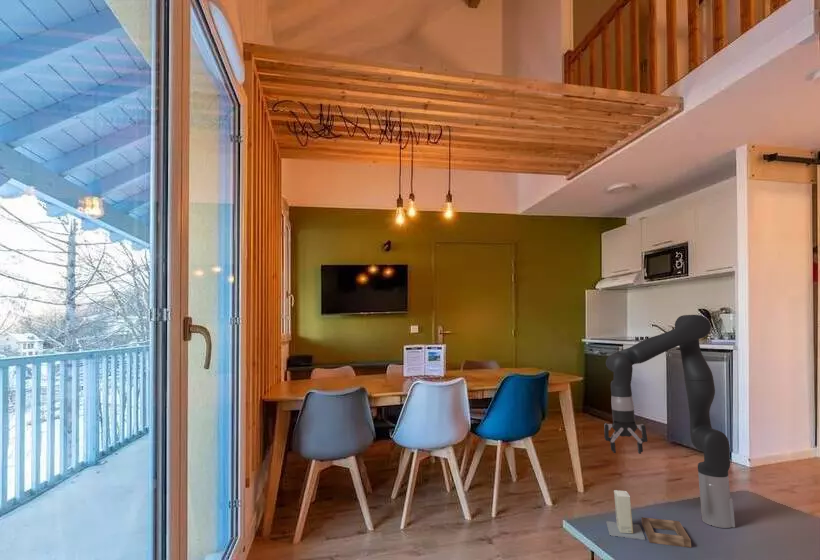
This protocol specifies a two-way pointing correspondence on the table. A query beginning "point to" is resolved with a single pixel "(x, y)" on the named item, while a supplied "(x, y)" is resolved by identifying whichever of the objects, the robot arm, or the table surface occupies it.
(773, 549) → the table surface
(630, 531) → the skincare box
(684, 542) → the frame
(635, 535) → the slate mat
